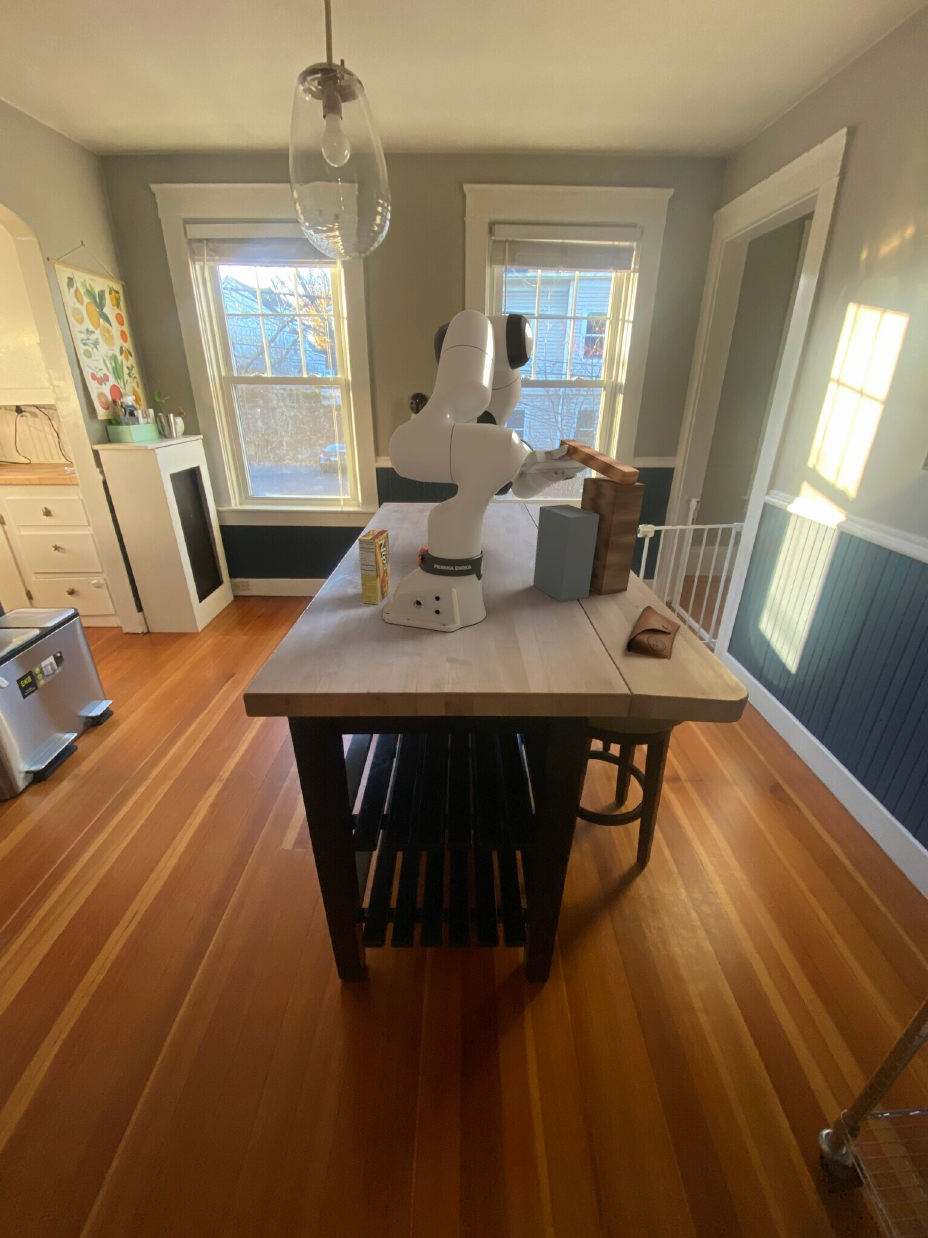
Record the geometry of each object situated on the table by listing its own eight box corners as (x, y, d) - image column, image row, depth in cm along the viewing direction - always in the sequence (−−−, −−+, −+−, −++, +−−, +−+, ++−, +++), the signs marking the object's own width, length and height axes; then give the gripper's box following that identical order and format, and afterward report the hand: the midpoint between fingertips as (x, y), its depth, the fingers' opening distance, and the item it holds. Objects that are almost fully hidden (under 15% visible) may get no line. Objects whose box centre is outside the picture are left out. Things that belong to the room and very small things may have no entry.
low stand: (533, 585, 123) (539, 506, 115) (559, 581, 126) (567, 504, 118) (560, 602, 113) (570, 517, 105) (588, 597, 116) (599, 514, 108)
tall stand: (572, 579, 128) (584, 478, 117) (596, 575, 131) (610, 476, 120) (601, 595, 118) (617, 486, 107) (626, 590, 121) (645, 484, 110)
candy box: (375, 589, 118) (371, 528, 112) (391, 591, 118) (388, 529, 111) (362, 603, 110) (357, 538, 104) (379, 605, 110) (375, 539, 103)
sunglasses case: (673, 661, 88) (659, 629, 87) (635, 670, 92) (622, 639, 91) (681, 624, 103) (670, 596, 102) (648, 633, 107) (637, 606, 106)
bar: (558, 451, 128) (560, 439, 126) (570, 450, 129) (573, 439, 127) (621, 484, 108) (625, 471, 107) (635, 483, 110) (639, 470, 108)
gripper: (513, 459, 133) (539, 436, 120) (574, 456, 140) (605, 434, 128) (518, 481, 132) (544, 460, 120) (579, 477, 140) (610, 457, 127)
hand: (576, 447), depth 124 cm, fingers closed on bar, 4 cm apart
